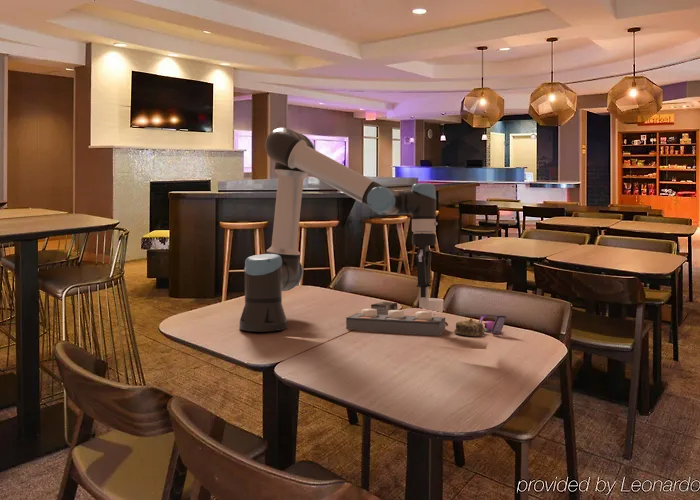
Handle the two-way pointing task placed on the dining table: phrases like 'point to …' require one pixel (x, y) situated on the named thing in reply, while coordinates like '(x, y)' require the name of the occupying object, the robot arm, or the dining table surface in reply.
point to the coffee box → (384, 307)
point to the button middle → (396, 314)
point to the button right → (424, 315)
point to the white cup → (435, 304)
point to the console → (396, 324)
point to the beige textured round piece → (469, 328)
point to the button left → (369, 313)
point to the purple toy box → (493, 323)
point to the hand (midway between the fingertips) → (423, 307)
